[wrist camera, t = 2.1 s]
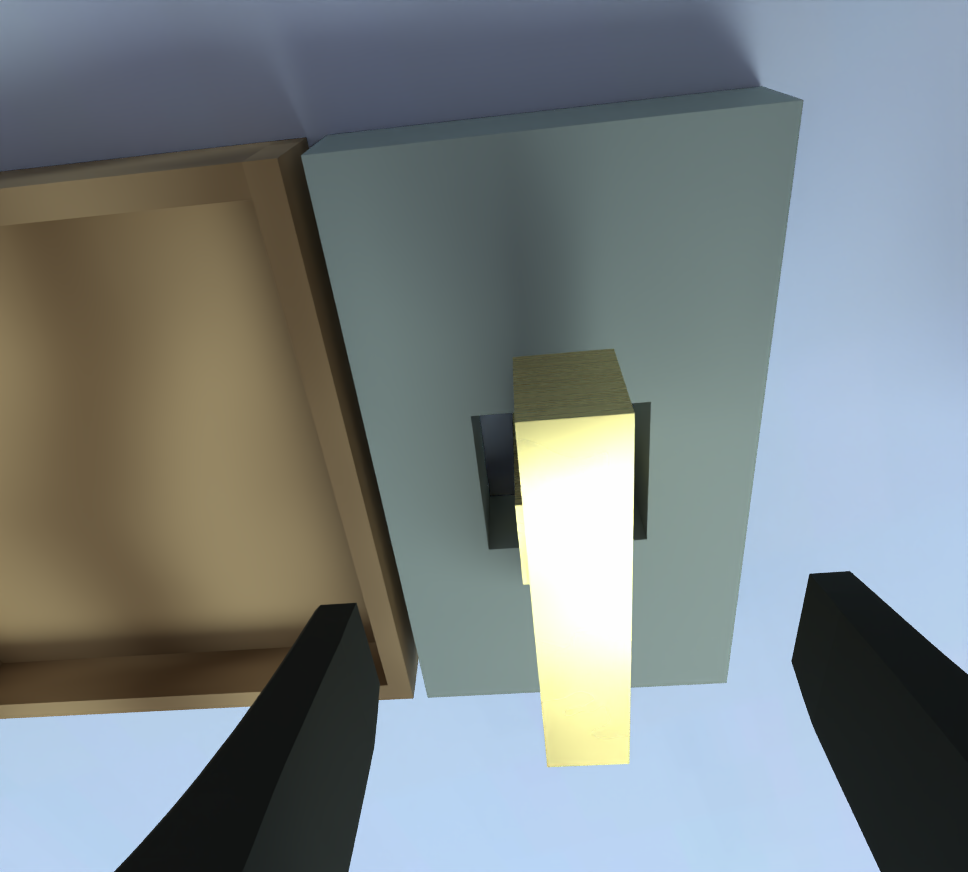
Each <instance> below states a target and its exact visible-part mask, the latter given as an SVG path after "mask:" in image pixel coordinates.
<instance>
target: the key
mask: <svg viewBox="0 0 968 872" xmlns="http://www.w3.org/2000/svg"><path fill="white" fill-rule="evenodd" d="M513 386H514V413H513V448H514V483H515V509H516V519H517V529H518V539H519V548H520V558H521V568H522V578H523V585H525V584H530V589H531V600H532V610H533V621H534V631H535V642H536V652H537V663H538V673H539V684H540V695H541V705H542V716H543V726H544V737H545V747H546V758H547V767H561V766H586V765H610V764H629V750H630V686H631V622H632V558H633V495H634V431H635V412H634V409H633V406H632V403H631V400H630V397H629V394H628V391H627V388H626V385H625V382H624V378H623V375H622V372H621V369H620V366H619V363H618V360H617V357H616V354H615V351H614V348H613V349H602V350H590V351H578V352H567V353H555V354H543V355H532V356H520V357H513Z"/></svg>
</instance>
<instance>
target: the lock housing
mask: <svg viewBox="0 0 968 872" xmlns="http://www.w3.org/2000/svg"><path fill="white" fill-rule="evenodd" d="M802 107H803V100H802V99H799V98H796V97H793V96H789V95H786V94H783V93H780V92H777V91H774V90H771V89H768V88H765V87H762V86H760V87H751V88H742V89H733V90H725V91H716V92H707V93H698V94H689V95H680V96H671V97H662V98H653V99H644V100H635V101H626V102H617V103H609V104H600V105H591V106H582V107H573V108H564V109H555V110H546V111H537V112H528V113H519V114H510V115H502V116H493V117H484V118H475V119H466V120H457V121H448V122H439V123H430V124H421V125H412V126H403V127H395V128H386V129H377V130H368V131H359V132H350V133H341V134H332V135H326V136H325V137H324V138H323V139H321V140H320V141H319V142H318V143H316V144H315V145H314V146H312V147H311V148H310V149H309V150H307V151H306V152H305V153H303V154H302V155H301V158H302V163H303V167H304V171H305V175H306V180H307V184H308V188H309V192H310V197H311V201H312V205H313V210H314V214H315V218H316V222H317V227H318V231H319V235H320V239H321V244H322V248H323V252H324V257H325V261H326V265H327V269H328V274H329V278H330V282H331V286H332V291H333V295H334V299H335V303H336V308H337V312H338V316H339V321H340V325H341V329H342V333H343V338H344V342H345V346H346V350H347V355H348V359H349V363H350V367H351V372H352V376H353V380H354V385H355V389H356V393H357V397H358V402H359V406H360V410H361V414H362V419H363V423H364V427H365V431H366V436H367V440H368V444H369V449H370V453H371V457H372V461H373V466H374V470H375V474H376V478H377V483H378V487H379V491H380V496H381V500H382V504H383V508H384V513H385V517H386V521H387V525H388V530H389V534H390V538H391V542H392V547H393V551H394V555H395V560H396V564H397V568H398V572H399V577H400V581H401V585H402V589H403V594H404V598H405V602H406V606H407V611H408V615H409V619H410V624H411V628H412V632H413V636H414V641H415V645H416V649H417V653H418V658H419V662H420V666H421V670H422V675H423V679H424V683H425V688H426V692H427V696H428V698H430V697H450V696H471V695H491V694H511V693H531V692H540V684H539V673H538V663H537V652H536V642H535V631H534V621H533V610H532V600H531V589H530V584H525V585H523V578H522V568H521V558H520V548H519V539H518V529H517V519H516V509H515V495H504V496H490V493H489V486H488V478H487V470H486V462H485V454H484V446H483V438H482V430H481V422H480V415H492V414H504V413H514V386H513V357H520V356H532V355H543V354H555V353H567V352H578V351H590V350H602V349H613V348H614V351H615V354H616V357H617V360H618V363H619V366H620V369H621V372H622V375H623V378H624V382H625V385H626V388H627V391H628V394H629V397H630V400H631V403H634V412H635V431H634V495H633V558H632V622H631V686H630V688H632V687H652V686H673V685H693V684H713V683H727V675H728V668H729V660H730V653H731V645H732V637H733V630H734V622H735V615H736V607H737V600H738V592H739V584H740V577H741V569H742V562H743V554H744V547H745V539H746V531H747V524H748V516H749V509H750V501H751V494H752V486H753V478H754V471H755V463H756V456H757V448H758V440H759V433H760V425H761V418H762V410H763V403H764V395H765V387H766V380H767V372H768V365H769V357H770V350H771V342H772V334H773V327H774V319H775V312H776V304H777V297H778V289H779V281H780V274H781V266H782V259H783V251H784V244H785V236H786V228H787V221H788V213H789V206H790V198H791V191H792V183H793V175H794V168H795V160H796V153H797V145H798V138H799V130H800V122H801V115H802Z"/></svg>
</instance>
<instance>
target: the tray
mask: <svg viewBox="0 0 968 872" xmlns="http://www.w3.org/2000/svg"><path fill="white" fill-rule="evenodd" d="M307 150H309V147H308V143H307V138H306V137H305V138H296V139H288V140H279V141H270V142H261V143H252V144H243V145H234V146H225V147H216V148H207V149H198V150H189V151H180V152H172V153H163V154H154V155H145V156H136V157H127V158H118V159H109V160H100V161H91V162H82V163H73V164H65V165H56V166H47V167H38V168H29V169H20V170H11V171H2V172H0V719H6V718H26V717H47V716H67V715H87V714H107V713H127V712H147V711H168V710H188V709H208V708H228V707H248V706H252V704H253V703H254V701H255V700H256V699H257V697H258V696H259V694H260V693H261V691H262V690H263V689H264V687H265V686H266V684H267V683H268V682H269V680H270V679H271V677H272V676H273V674H274V673H275V671H276V670H277V668H278V667H279V665H280V664H281V662H282V661H283V659H284V658H285V656H286V655H287V653H288V652H289V650H290V649H291V647H292V646H293V644H294V643H295V641H296V639H297V638H298V636H299V635H300V633H301V632H302V630H303V629H304V627H305V625H306V624H307V622H308V621H309V619H310V618H311V616H312V615H313V613H314V611H315V610H316V609H317V608H318V607H319V606H320V605H328V604H343V603H357V606H358V609H359V613H360V616H361V620H362V623H363V627H364V630H365V634H366V637H367V641H368V644H369V647H370V651H371V654H372V658H373V661H374V665H375V668H376V672H377V675H378V679H379V682H380V690H379V700H390V699H410V698H414V690H415V682H416V674H417V666H418V653H417V649H416V645H415V641H414V636H413V632H412V628H411V624H410V619H409V615H408V611H407V606H406V602H405V598H404V594H403V589H402V585H401V581H400V577H399V572H398V568H397V564H396V560H395V555H394V551H393V547H392V542H391V538H390V534H389V530H388V525H387V521H386V517H385V513H384V508H383V504H382V500H381V496H380V491H379V487H378V483H377V478H376V474H375V470H374V466H373V461H372V457H371V453H370V449H369V444H368V440H367V436H366V431H365V427H364V423H363V419H362V414H361V410H360V406H359V402H358V397H357V393H356V389H355V385H354V380H353V376H352V372H351V367H350V363H349V359H348V355H347V350H346V346H345V342H344V338H343V333H342V329H341V325H340V321H339V316H338V312H337V308H336V303H335V299H334V295H333V291H332V286H331V282H330V278H329V274H328V269H327V265H326V261H325V257H324V252H323V248H322V244H321V239H320V235H319V231H318V227H317V222H316V218H315V214H314V210H313V205H312V201H311V197H310V192H309V188H308V184H307V180H306V175H305V171H304V167H303V163H302V158H301V155H302V154H303V153H305V152H306V151H307Z"/></svg>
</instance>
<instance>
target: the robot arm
mask: <svg viewBox="0 0 968 872" xmlns="http://www.w3.org/2000/svg"><path fill="white" fill-rule="evenodd" d="M792 664H793V667H794V671H795V674H796V677H797V680H798V683H799V686H800V690H801V693H802V696H803V699H804V702H805V705H806V708H807V711H808V713H809V716H810V719H811V722H812V725H813V727H814V729H815V732H816V734H817V736H818V738H819V741H820V743H821V745H822V747H823V749H824V751H825V754H826V756H827V758H828V760H829V762H830V765H831V767H832V769H833V771H834V773H835V775H836V778H837V780H838V782H839V784H840V786H841V788H842V790H843V792H844V795H845V797H846V799H847V801H848V803H849V805H850V807H851V810H852V812H853V814H854V816H855V818H856V820H857V822H858V824H859V827H860V829H861V831H862V833H863V835H864V837H865V839H866V842H867V844H868V846H869V848H870V850H871V852H872V854H873V856H874V859H875V861H876V863H877V865H878V867H879V869H880V871H881V872H968V674H967V673H966V672H964V671H963V670H962V669H961V668H960V667H958V666H957V665H956V664H955V663H954V662H952V661H951V660H950V659H949V658H948V657H947V656H945V655H944V654H943V653H942V652H941V651H940V650H938V649H937V648H936V647H935V646H934V645H933V644H931V643H930V642H929V641H928V640H927V639H926V638H925V637H924V636H922V635H921V634H920V633H919V632H918V631H917V630H916V629H914V628H913V627H912V626H911V625H910V624H909V623H908V622H907V621H905V620H904V619H903V618H902V617H901V616H900V615H899V614H898V613H896V612H895V611H894V610H893V609H892V608H891V607H890V606H889V605H887V604H886V603H885V602H884V601H883V600H882V599H881V598H880V597H878V596H877V595H876V594H875V593H874V592H873V591H872V590H871V589H869V588H868V587H867V586H866V585H865V584H864V583H863V582H862V581H860V580H859V579H858V578H857V577H856V576H855V575H854V574H853V573H851V572H850V571H846V572H830V573H814V574H809V579H808V584H807V588H806V593H805V598H804V603H803V608H802V613H801V618H800V622H799V627H798V632H797V637H796V642H795V647H794V652H793V656H792ZM379 690H380V682H379V679H378V675H377V672H376V668H375V665H374V661H373V658H372V654H371V651H370V647H369V644H368V641H367V637H366V634H365V630H364V627H363V623H362V620H361V616H360V613H359V609H358V606H357V603H343V604H328V605H320V606H319V607H318V608H317V609H316V610H315V611H314V613H313V615H312V616H311V618H310V619H309V621H308V622H307V624H306V625H305V627H304V629H303V630H302V632H301V633H300V635H299V636H298V638H297V639H296V641H295V643H294V644H293V646H292V647H291V649H290V650H289V652H288V653H287V655H286V656H285V658H284V659H283V661H282V662H281V664H280V665H279V667H278V668H277V670H276V671H275V673H274V674H273V676H272V677H271V679H270V680H269V682H268V683H267V684H266V686H265V687H264V689H263V690H262V691H261V693H260V694H259V696H258V697H257V699H256V700H255V701H254V703H253V704H252V706H251V707H250V708H249V710H248V711H247V713H246V714H245V716H244V717H243V718H242V720H241V721H240V722H239V724H238V725H237V727H236V728H235V729H234V731H233V732H232V733H231V735H230V736H229V737H228V738H227V740H226V741H225V742H224V744H223V745H222V746H221V747H220V749H219V750H218V751H217V753H216V754H215V755H214V757H213V758H212V759H211V760H210V762H209V763H208V764H207V766H206V767H205V768H204V769H203V771H202V772H201V773H200V775H199V776H198V777H197V778H196V780H195V781H194V782H193V783H192V785H191V786H190V787H189V788H188V789H187V791H186V792H185V793H184V794H183V795H182V797H181V798H180V799H179V800H178V801H177V803H176V804H175V805H174V806H173V807H172V808H171V810H170V811H169V812H168V813H167V814H166V816H165V817H164V818H163V819H162V820H161V821H160V822H159V823H158V825H157V826H156V827H155V828H154V829H153V830H152V831H151V832H150V834H149V835H148V836H147V837H146V838H145V839H144V840H143V842H142V843H141V844H140V845H139V846H138V847H137V848H136V849H135V850H134V851H133V852H132V853H131V854H130V856H129V857H128V858H127V859H126V860H125V861H124V862H123V863H122V864H121V865H120V866H119V867H118V868H117V869H116V870H115V871H114V872H348V871H349V866H350V862H351V857H352V852H353V847H354V842H355V838H356V833H357V828H358V823H359V819H360V814H361V809H362V804H363V799H364V795H365V790H366V785H367V780H368V775H369V770H370V765H371V760H372V755H373V750H374V744H375V734H376V724H377V714H378V702H379Z"/></svg>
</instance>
